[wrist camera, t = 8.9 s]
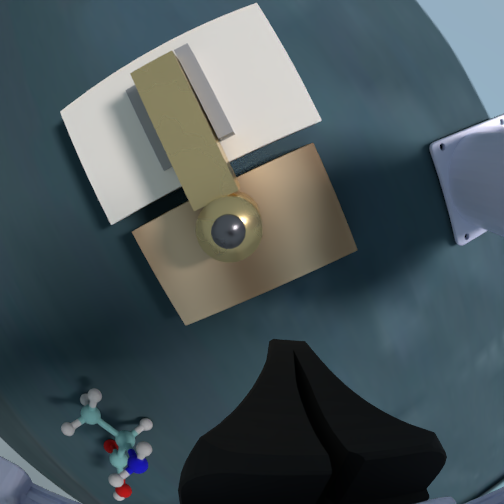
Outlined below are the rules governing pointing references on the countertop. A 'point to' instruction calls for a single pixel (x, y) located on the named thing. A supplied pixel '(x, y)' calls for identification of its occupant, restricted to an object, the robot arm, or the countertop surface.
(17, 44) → the countertop surface
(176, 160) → the lock arm
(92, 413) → the molecular model
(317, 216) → the strip
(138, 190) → the door panel
